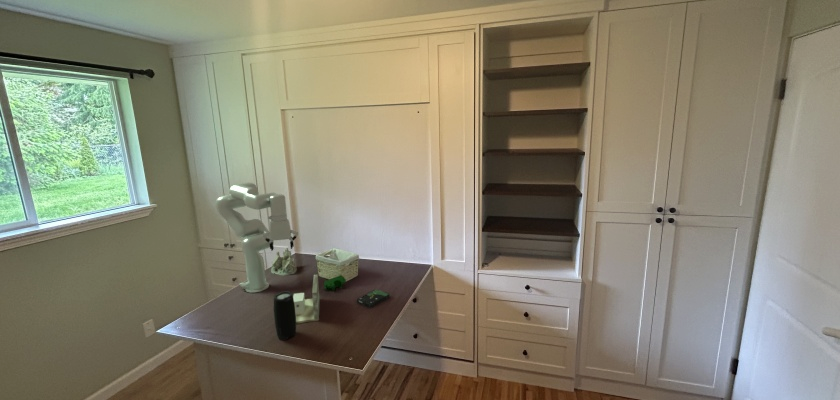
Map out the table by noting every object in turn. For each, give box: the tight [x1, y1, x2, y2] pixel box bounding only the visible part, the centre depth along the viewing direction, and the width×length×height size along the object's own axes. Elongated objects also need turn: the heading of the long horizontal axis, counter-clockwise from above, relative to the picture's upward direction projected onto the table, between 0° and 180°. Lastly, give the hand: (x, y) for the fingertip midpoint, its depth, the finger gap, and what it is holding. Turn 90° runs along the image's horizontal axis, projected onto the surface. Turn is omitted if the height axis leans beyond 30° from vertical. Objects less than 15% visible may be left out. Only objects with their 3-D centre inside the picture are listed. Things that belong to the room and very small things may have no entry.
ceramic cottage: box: [270, 247, 298, 276], centre depth 220 cm, size 16×16×15 cm
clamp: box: [323, 275, 347, 292], centre depth 195 cm, size 12×6×9 cm, turn 128°
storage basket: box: [315, 247, 360, 282], centre depth 212 cm, size 24×16×15 cm
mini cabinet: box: [293, 292, 305, 315], centre depth 169 cm, size 5×10×7 cm, turn 15°
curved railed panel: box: [296, 273, 321, 325], centre depth 169 cm, size 19×22×14 cm
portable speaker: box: [272, 290, 297, 341], centre depth 148 cm, size 9×9×20 cm
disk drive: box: [356, 289, 391, 309], centre depth 181 cm, size 10×3×15 cm
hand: (282, 249), depth 180 cm, fingers open, 9 cm apart
